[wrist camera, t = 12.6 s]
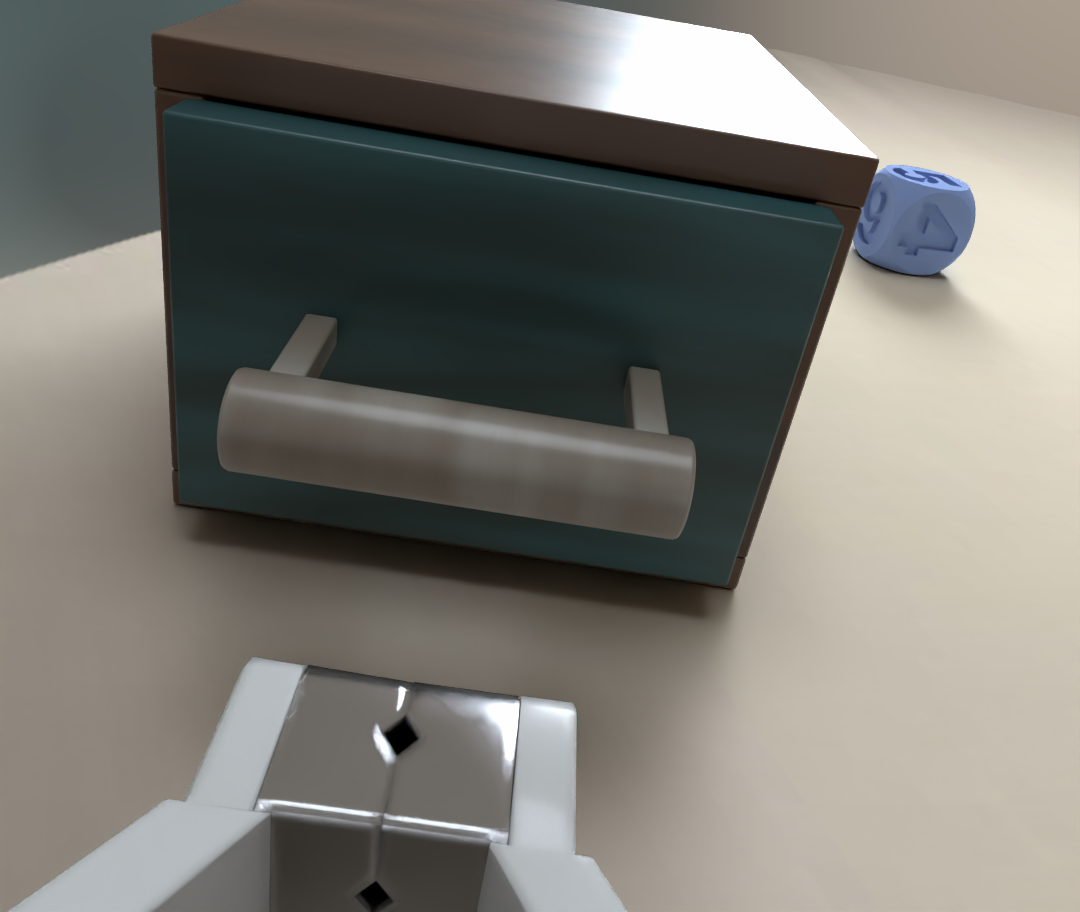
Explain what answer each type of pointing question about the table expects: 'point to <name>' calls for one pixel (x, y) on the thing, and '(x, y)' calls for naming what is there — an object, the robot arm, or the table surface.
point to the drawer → (479, 338)
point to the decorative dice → (915, 220)
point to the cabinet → (530, 109)
